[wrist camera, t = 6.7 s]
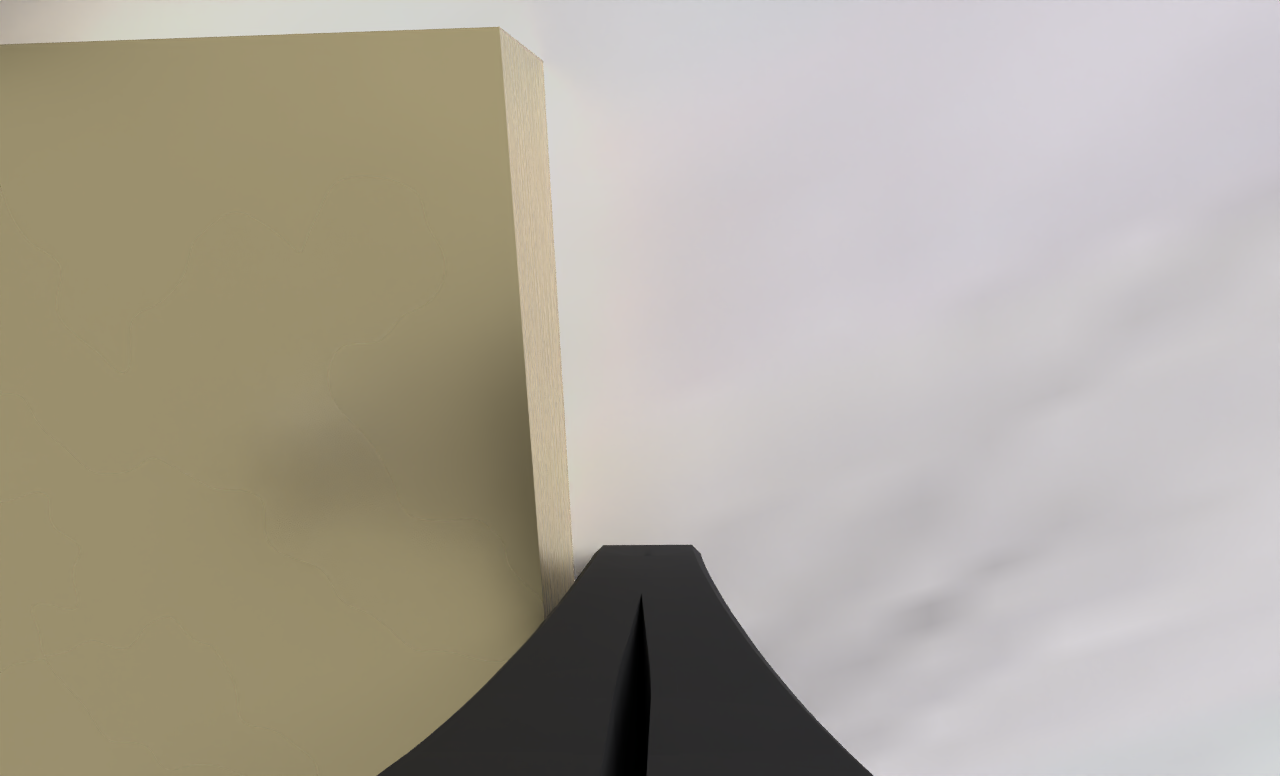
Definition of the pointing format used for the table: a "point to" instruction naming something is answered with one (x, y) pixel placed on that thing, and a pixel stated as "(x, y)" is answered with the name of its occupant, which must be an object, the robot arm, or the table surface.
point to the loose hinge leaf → (271, 397)
